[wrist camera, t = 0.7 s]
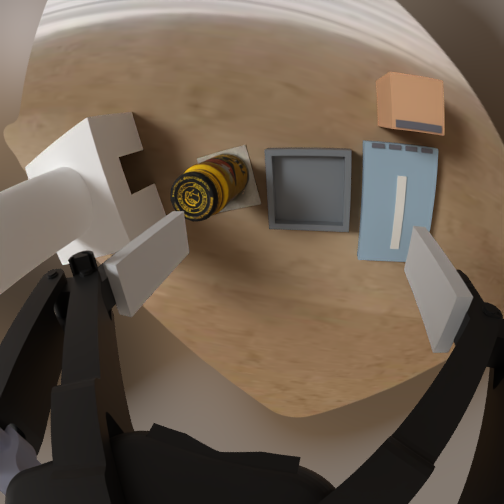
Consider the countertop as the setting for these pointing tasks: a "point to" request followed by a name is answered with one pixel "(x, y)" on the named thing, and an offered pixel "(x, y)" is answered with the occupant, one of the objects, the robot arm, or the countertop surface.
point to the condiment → (216, 185)
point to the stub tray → (308, 188)
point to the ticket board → (395, 197)
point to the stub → (410, 103)
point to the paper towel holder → (75, 199)
